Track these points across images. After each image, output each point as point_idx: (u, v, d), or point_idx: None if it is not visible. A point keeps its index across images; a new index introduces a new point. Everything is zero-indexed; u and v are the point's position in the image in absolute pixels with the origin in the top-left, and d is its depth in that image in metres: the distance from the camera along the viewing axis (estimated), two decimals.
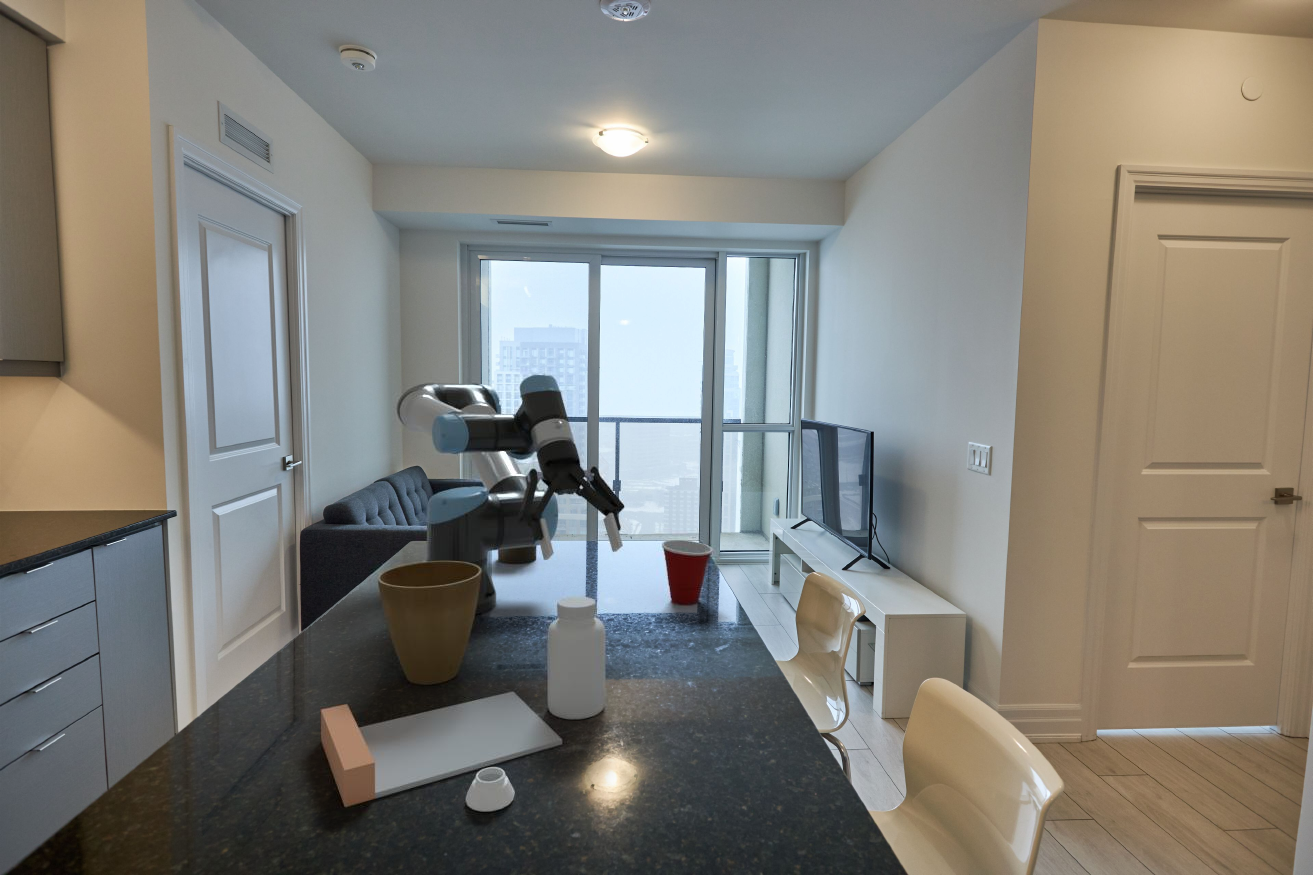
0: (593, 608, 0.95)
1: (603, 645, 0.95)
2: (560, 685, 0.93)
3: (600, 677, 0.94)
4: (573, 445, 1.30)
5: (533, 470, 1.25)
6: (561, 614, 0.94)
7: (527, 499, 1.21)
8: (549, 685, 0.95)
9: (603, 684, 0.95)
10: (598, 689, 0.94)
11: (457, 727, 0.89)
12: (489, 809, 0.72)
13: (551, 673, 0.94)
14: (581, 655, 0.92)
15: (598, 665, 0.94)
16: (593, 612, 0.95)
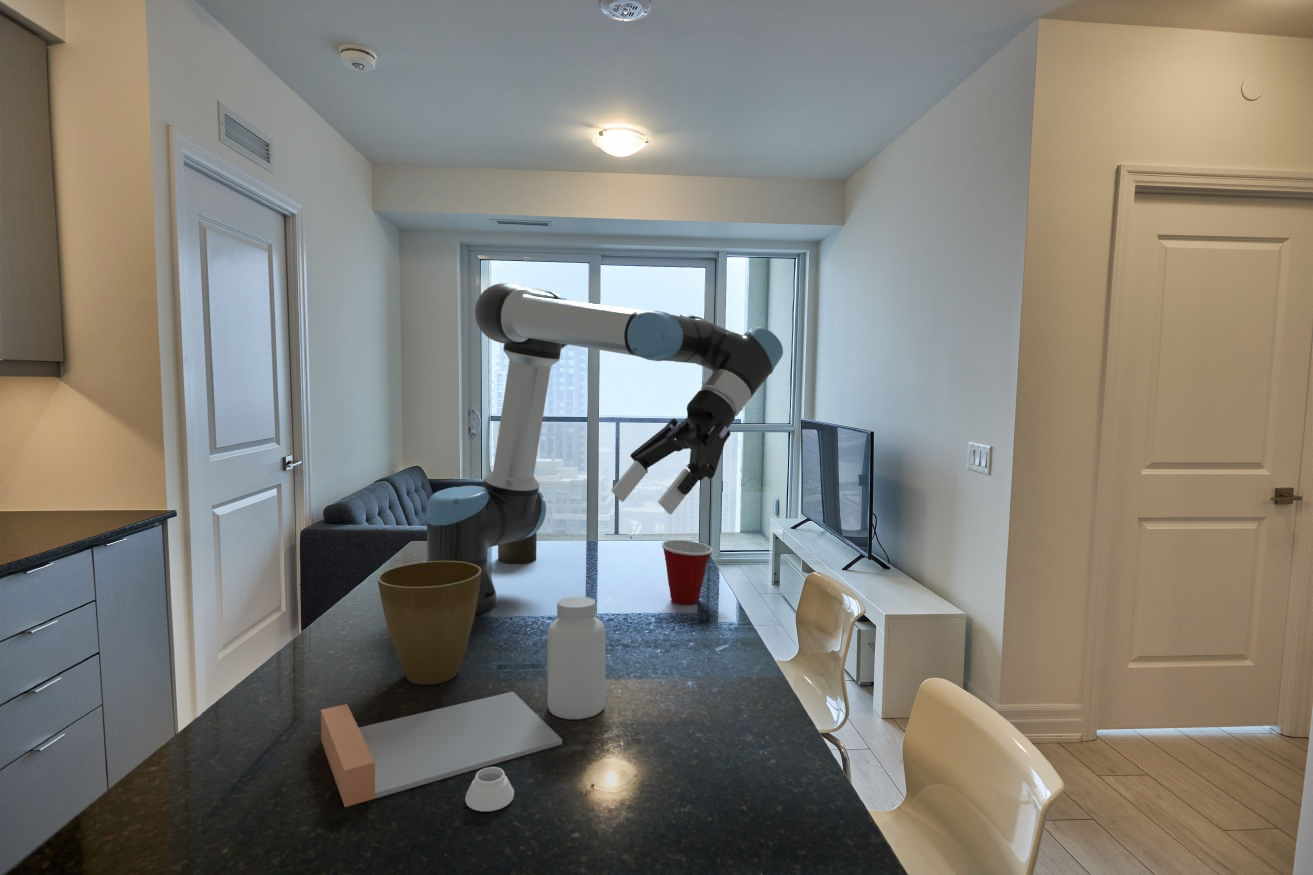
0: (593, 608, 0.95)
1: (603, 645, 0.95)
2: (560, 685, 0.93)
3: (600, 677, 0.94)
4: None
5: None
6: (561, 614, 0.94)
7: None
8: (549, 685, 0.95)
9: (603, 684, 0.95)
10: (598, 689, 0.94)
11: (457, 727, 0.89)
12: (489, 809, 0.72)
13: (551, 673, 0.94)
14: (581, 655, 0.92)
15: (598, 665, 0.94)
16: (593, 612, 0.95)
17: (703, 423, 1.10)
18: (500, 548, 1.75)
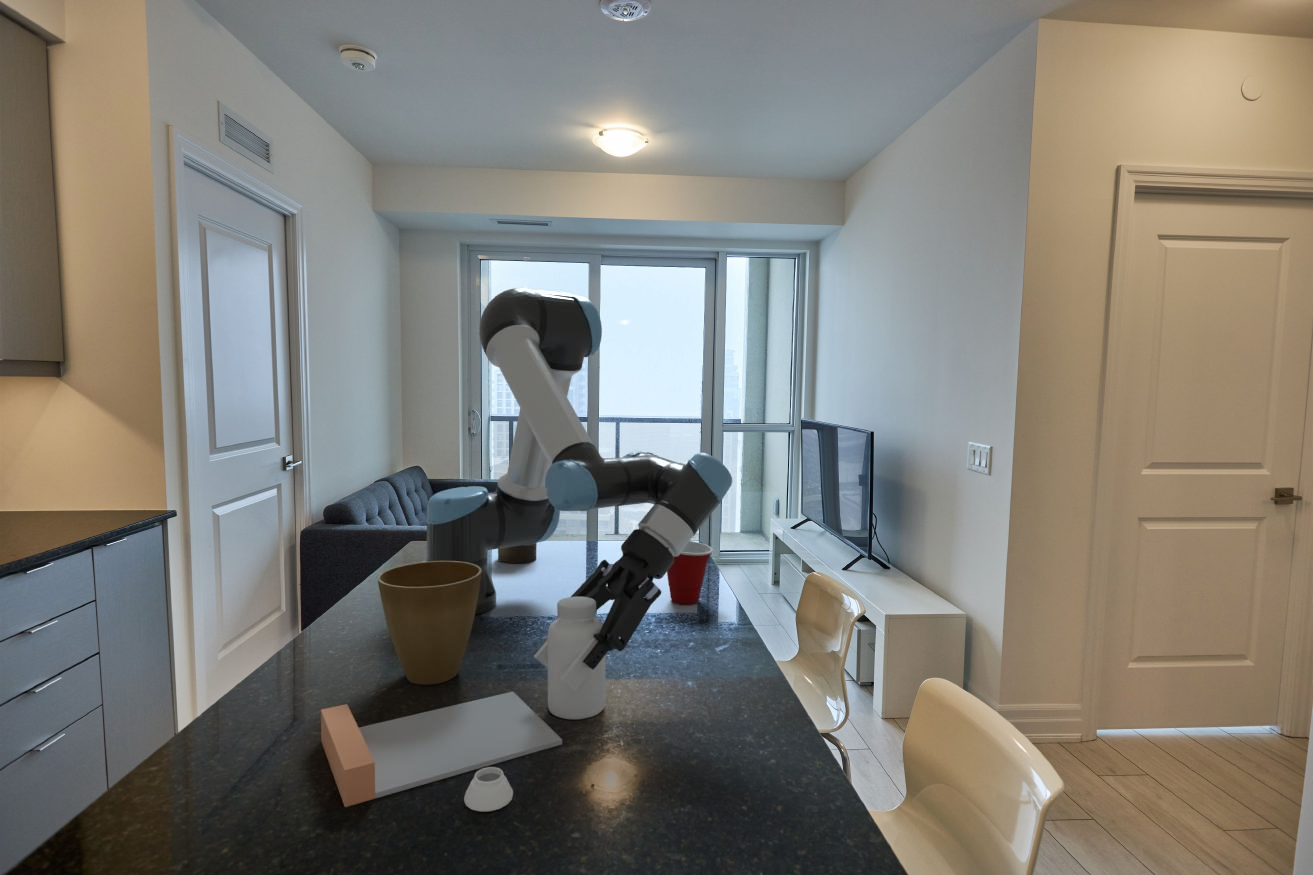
0: (593, 608, 0.95)
1: None
2: (560, 685, 0.93)
3: (600, 677, 0.94)
4: None
5: None
6: (561, 614, 0.94)
7: None
8: (549, 685, 0.94)
9: (603, 684, 0.95)
10: (598, 689, 0.94)
11: (457, 727, 0.89)
12: (487, 809, 0.72)
13: (551, 673, 0.94)
14: None
15: (599, 665, 0.94)
16: (593, 612, 0.95)
17: (637, 570, 0.98)
18: (500, 548, 1.75)
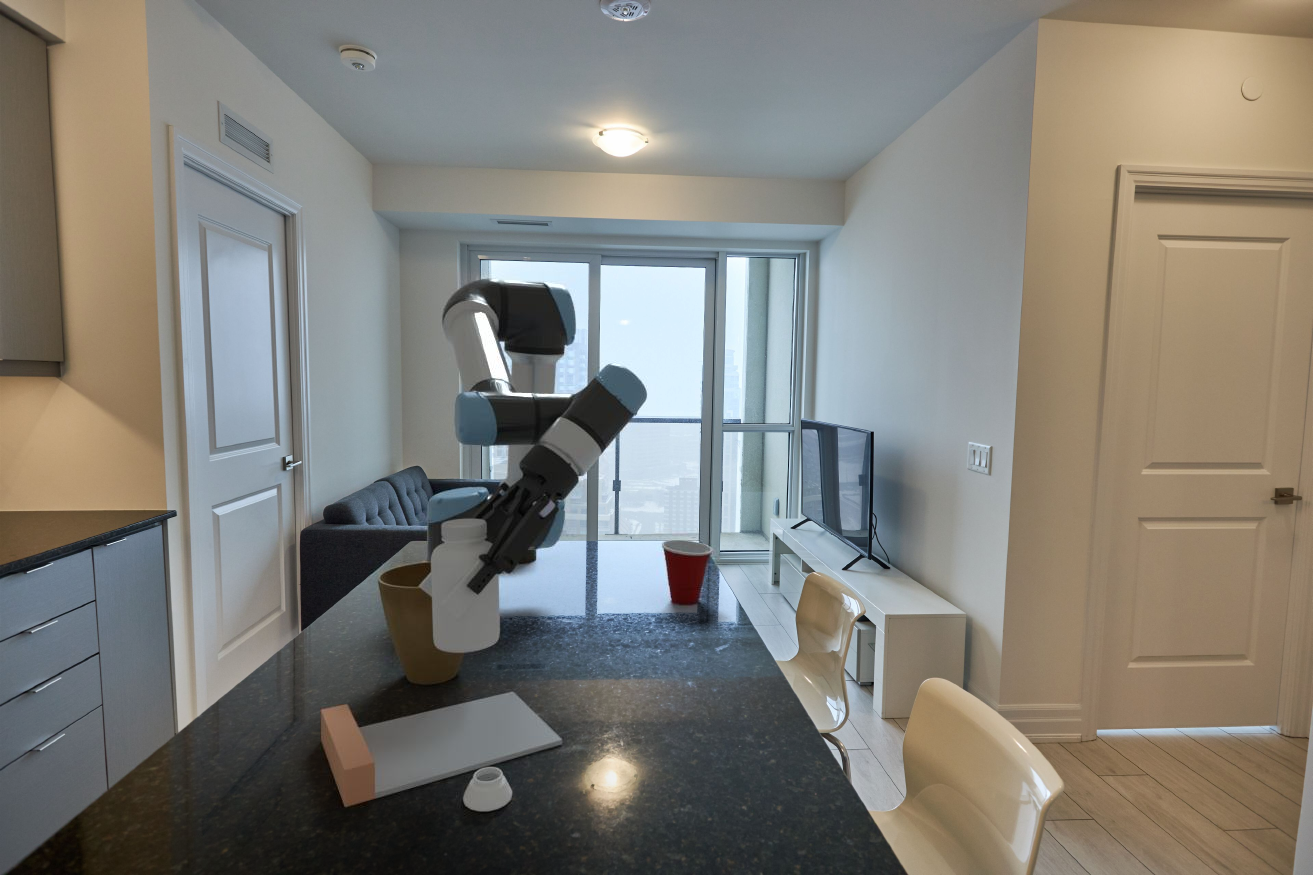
0: (482, 528, 0.84)
1: None
2: (443, 615, 0.82)
3: (491, 606, 0.84)
4: None
5: None
6: (444, 535, 0.83)
7: None
8: (433, 616, 0.84)
9: (495, 614, 0.85)
10: (488, 619, 0.83)
11: (457, 727, 0.89)
12: (486, 809, 0.72)
13: (434, 602, 0.83)
14: None
15: (488, 592, 0.83)
16: (482, 533, 0.84)
17: (534, 488, 0.87)
18: None
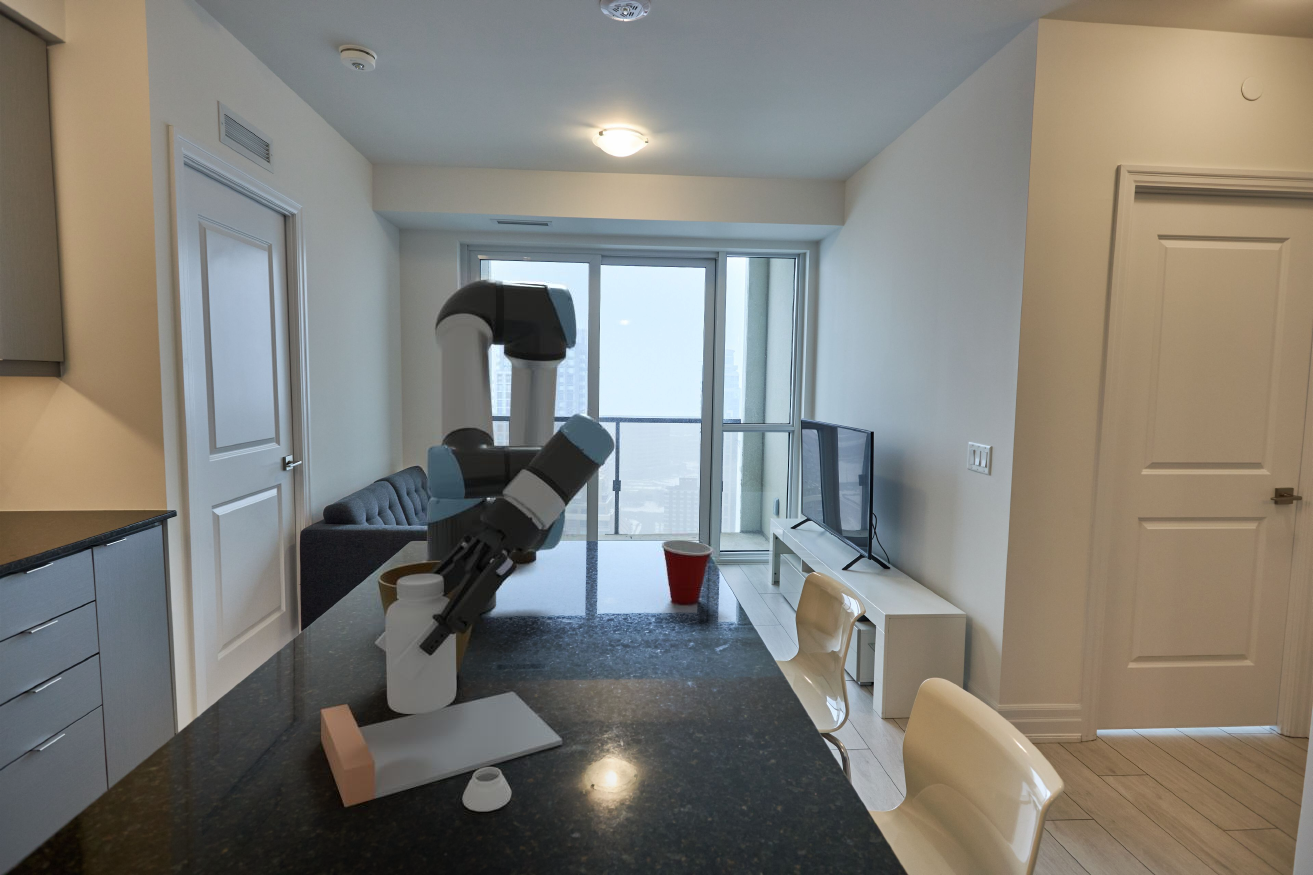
0: (437, 586, 0.82)
1: None
2: (395, 675, 0.80)
3: (445, 665, 0.82)
4: None
5: None
6: (399, 592, 0.81)
7: None
8: (387, 675, 0.82)
9: (450, 673, 0.83)
10: (442, 679, 0.82)
11: (457, 727, 0.89)
12: (486, 809, 0.72)
13: (387, 661, 0.81)
14: None
15: (443, 651, 0.81)
16: (437, 590, 0.82)
17: (494, 543, 0.86)
18: None
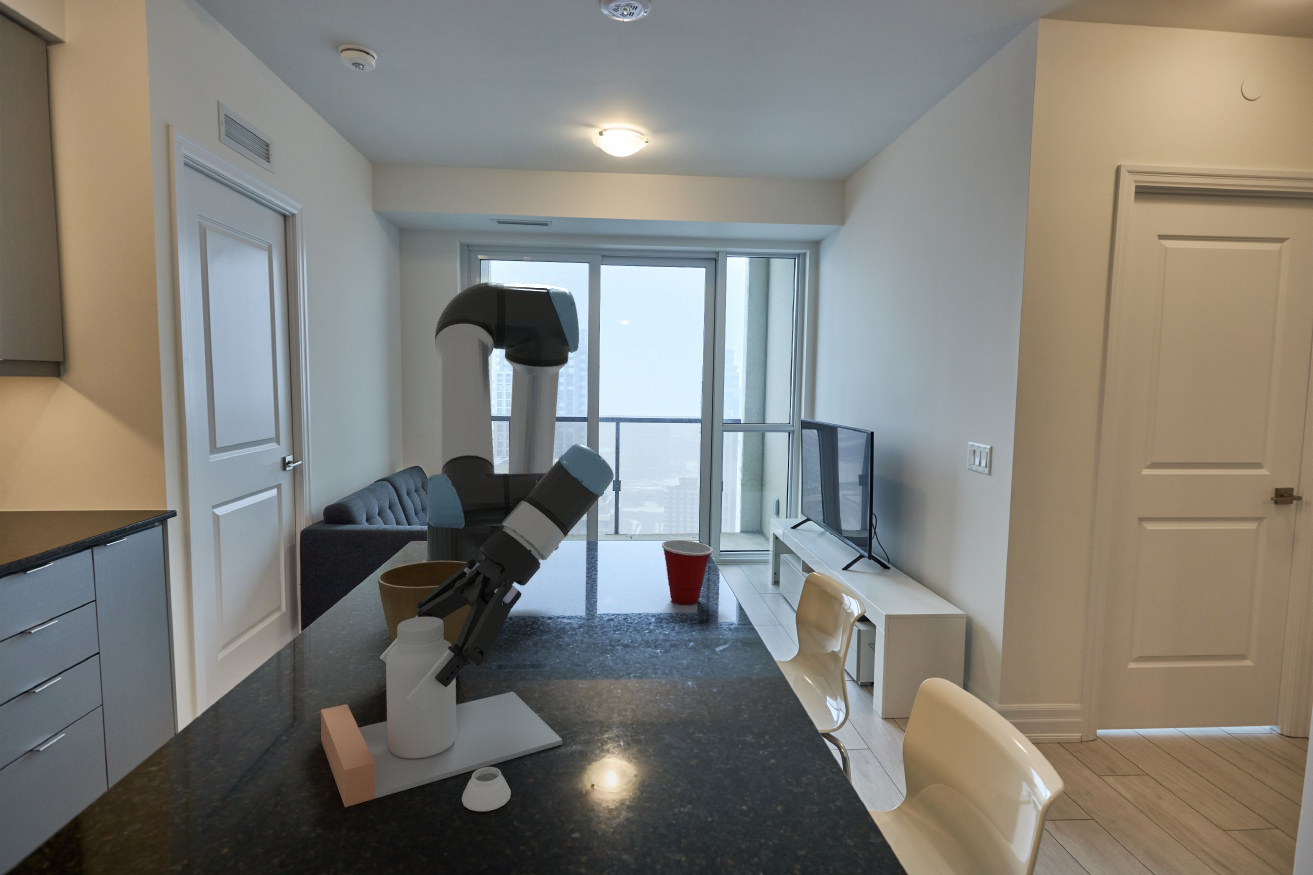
0: (437, 631, 0.83)
1: None
2: (396, 720, 0.81)
3: (445, 710, 0.83)
4: None
5: None
6: (399, 638, 0.82)
7: None
8: (387, 719, 0.83)
9: (450, 717, 0.84)
10: (442, 724, 0.82)
11: (457, 727, 0.89)
12: (485, 809, 0.72)
13: (388, 705, 0.82)
14: None
15: (442, 696, 0.82)
16: (437, 635, 0.83)
17: (493, 576, 0.86)
18: None
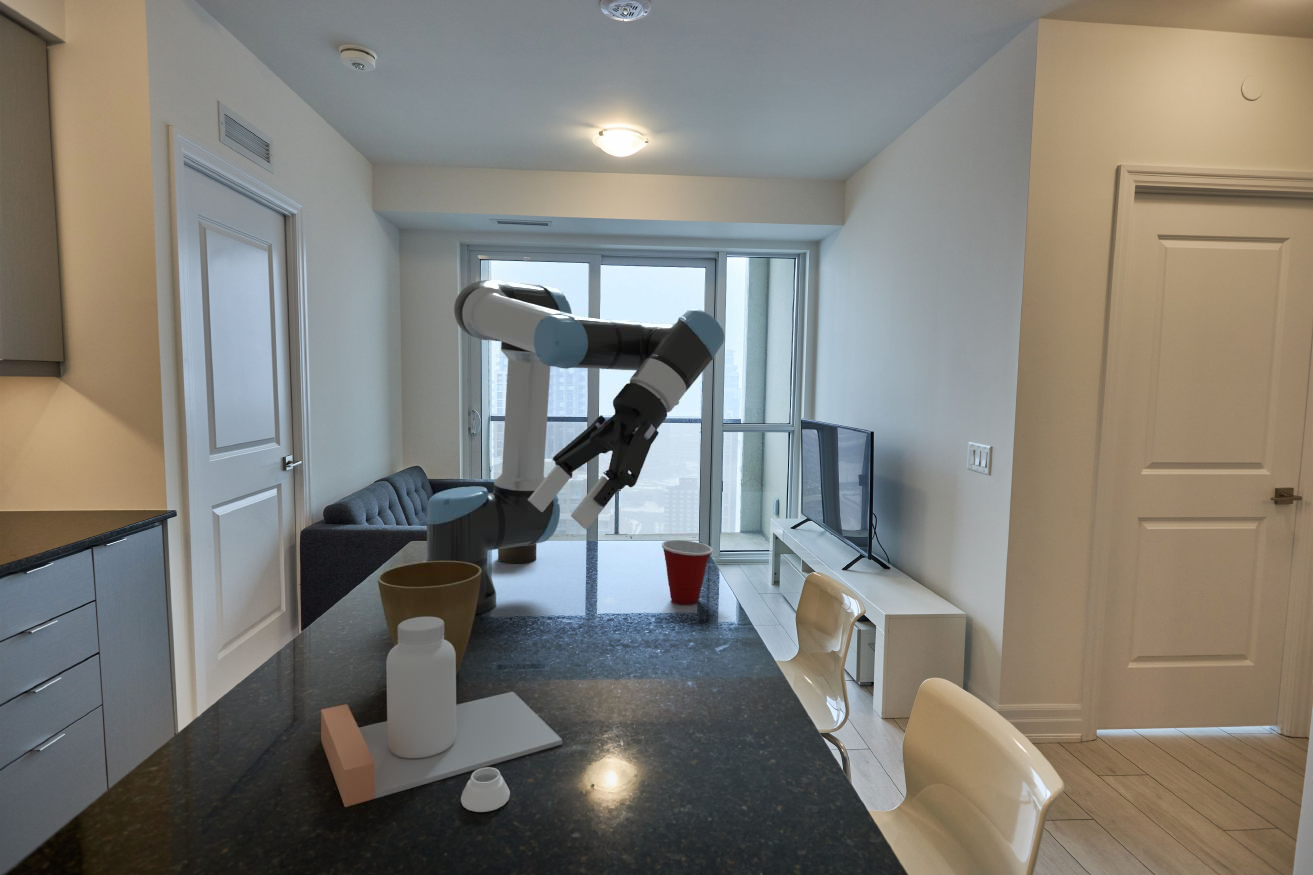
0: (438, 631, 0.83)
1: (451, 673, 0.83)
2: (396, 719, 0.81)
3: (445, 710, 0.83)
4: None
5: None
6: (400, 638, 0.82)
7: None
8: (387, 718, 0.83)
9: (450, 717, 0.84)
10: (442, 724, 0.82)
11: (457, 727, 0.89)
12: (484, 809, 0.72)
13: (388, 705, 0.82)
14: (420, 685, 0.81)
15: (443, 696, 0.82)
16: (438, 635, 0.83)
17: (629, 421, 0.96)
18: None
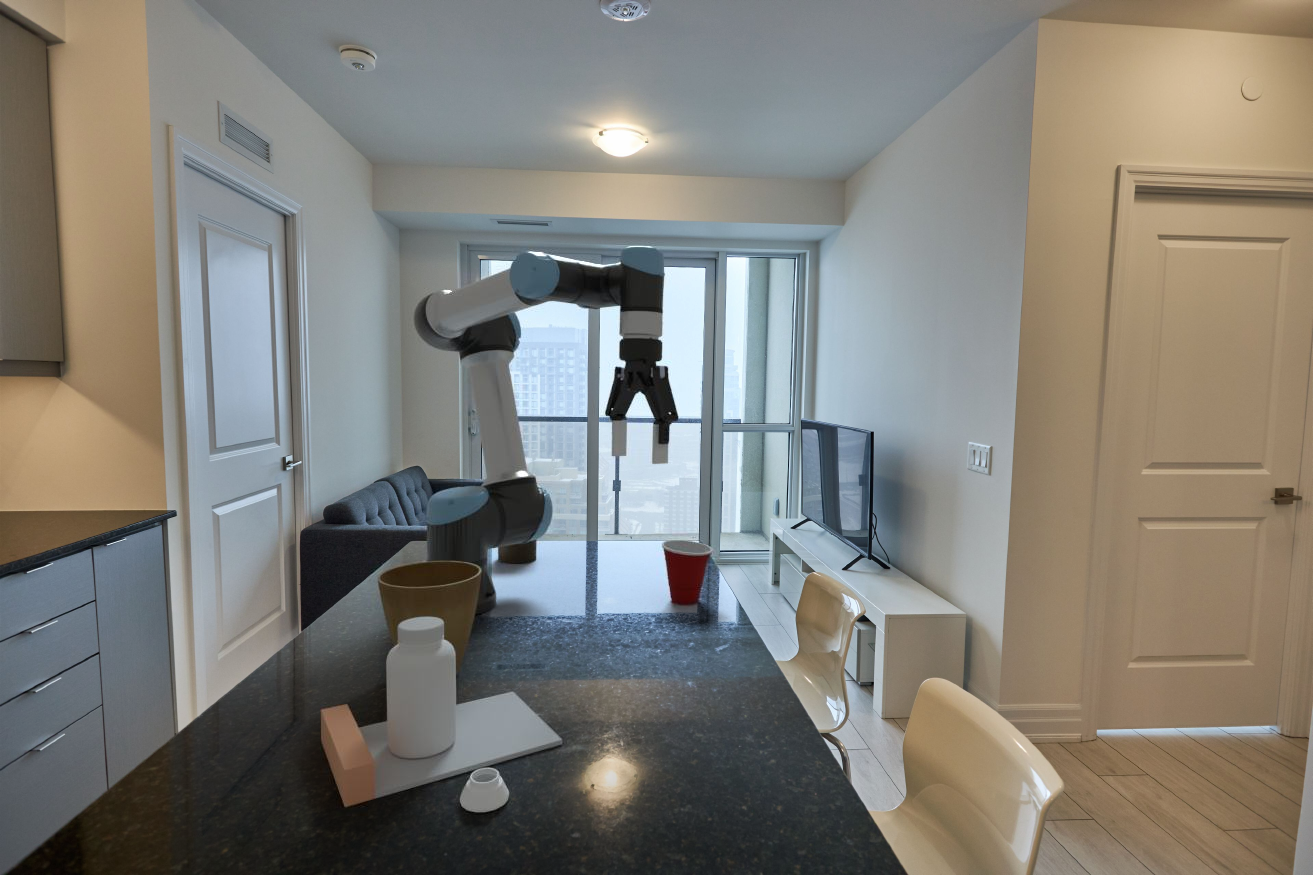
0: (438, 631, 0.83)
1: (450, 673, 0.83)
2: (396, 720, 0.81)
3: (445, 710, 0.83)
4: None
5: None
6: (400, 638, 0.82)
7: (673, 402, 1.16)
8: (387, 718, 0.83)
9: (450, 717, 0.84)
10: (442, 724, 0.82)
11: (457, 727, 0.89)
12: (483, 810, 0.72)
13: (388, 705, 0.82)
14: (419, 685, 0.81)
15: (442, 696, 0.82)
16: (438, 635, 0.83)
17: (642, 368, 1.20)
18: (500, 548, 1.75)
